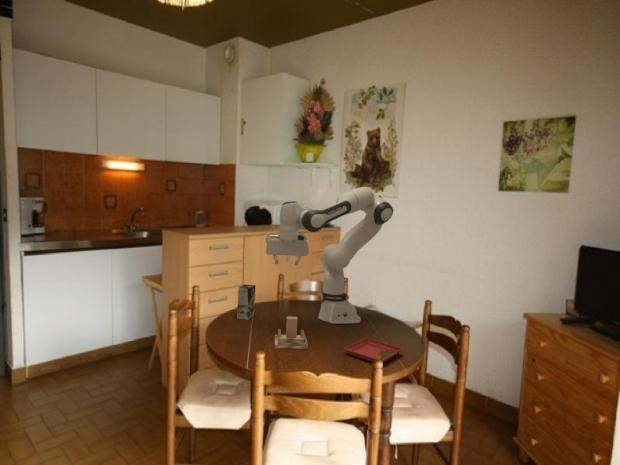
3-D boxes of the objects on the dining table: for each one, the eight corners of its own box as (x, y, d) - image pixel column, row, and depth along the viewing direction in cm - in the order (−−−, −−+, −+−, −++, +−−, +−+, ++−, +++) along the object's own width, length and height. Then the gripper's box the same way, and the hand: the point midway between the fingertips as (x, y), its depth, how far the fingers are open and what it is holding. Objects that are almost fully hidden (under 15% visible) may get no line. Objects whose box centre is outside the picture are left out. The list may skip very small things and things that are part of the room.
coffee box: (248, 320, 207) (250, 288, 205) (236, 318, 208) (237, 287, 206) (254, 315, 216) (256, 285, 214) (243, 313, 217) (244, 283, 215)
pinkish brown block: (295, 338, 181) (297, 316, 180) (296, 341, 177) (297, 319, 176) (285, 338, 181) (286, 316, 180) (285, 341, 177) (287, 318, 176)
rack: (305, 337, 186) (306, 329, 186) (307, 348, 173) (308, 339, 173) (274, 337, 185) (275, 328, 184) (274, 348, 172) (275, 338, 172)
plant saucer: (342, 355, 170) (343, 347, 170) (365, 344, 184) (366, 337, 184) (381, 368, 159) (382, 360, 158) (402, 356, 173) (403, 348, 172)
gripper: (265, 235, 189) (264, 264, 191) (309, 237, 191) (308, 266, 192) (266, 233, 196) (264, 262, 197) (308, 235, 197) (307, 264, 199)
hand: (286, 264), depth 195 cm, fingers open, 8 cm apart
